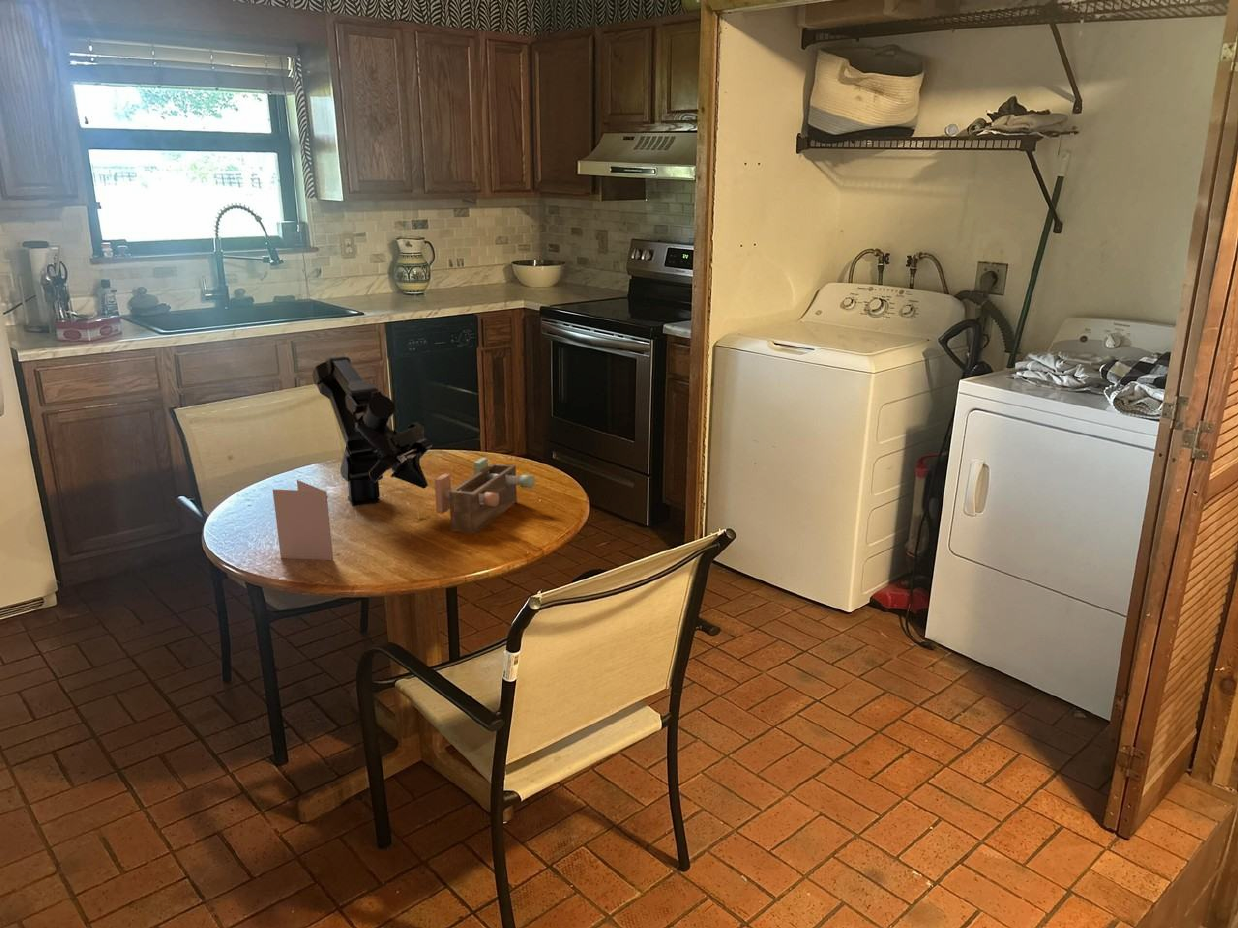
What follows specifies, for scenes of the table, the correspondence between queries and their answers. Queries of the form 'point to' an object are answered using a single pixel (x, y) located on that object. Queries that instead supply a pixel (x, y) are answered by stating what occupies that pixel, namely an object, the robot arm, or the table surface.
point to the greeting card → (303, 523)
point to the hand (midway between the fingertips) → (426, 487)
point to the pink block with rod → (445, 486)
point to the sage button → (523, 480)
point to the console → (466, 504)
